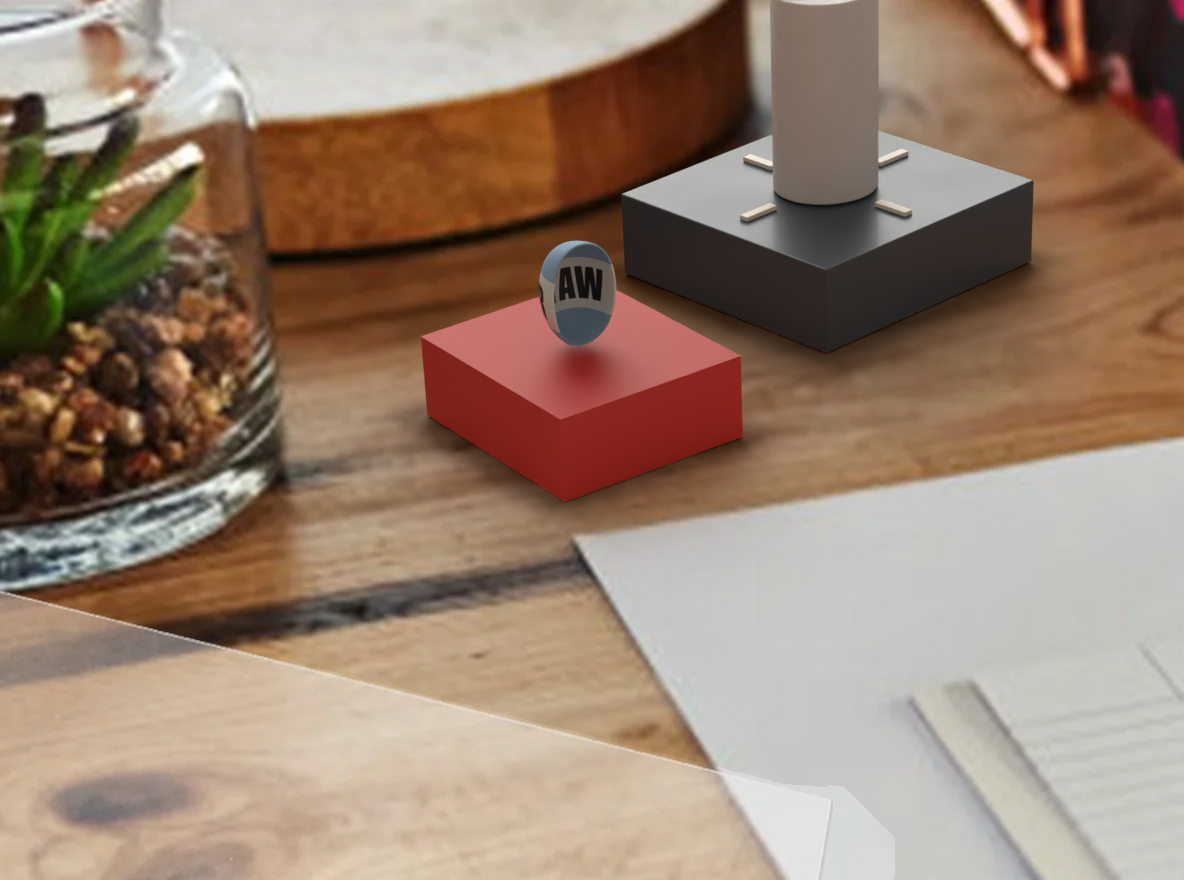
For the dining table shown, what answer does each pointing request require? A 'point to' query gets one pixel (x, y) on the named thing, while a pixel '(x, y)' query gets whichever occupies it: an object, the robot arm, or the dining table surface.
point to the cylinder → (824, 99)
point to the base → (828, 240)
